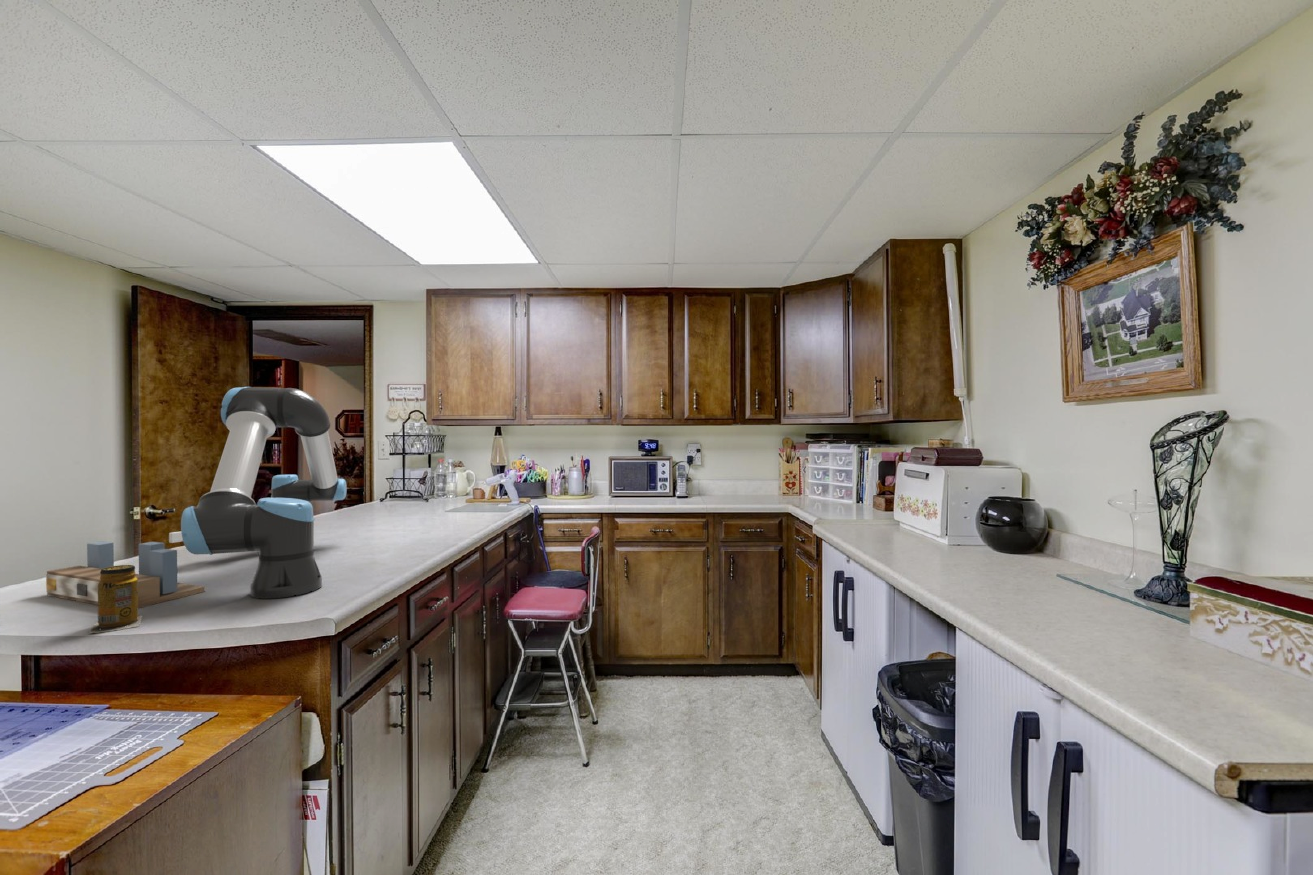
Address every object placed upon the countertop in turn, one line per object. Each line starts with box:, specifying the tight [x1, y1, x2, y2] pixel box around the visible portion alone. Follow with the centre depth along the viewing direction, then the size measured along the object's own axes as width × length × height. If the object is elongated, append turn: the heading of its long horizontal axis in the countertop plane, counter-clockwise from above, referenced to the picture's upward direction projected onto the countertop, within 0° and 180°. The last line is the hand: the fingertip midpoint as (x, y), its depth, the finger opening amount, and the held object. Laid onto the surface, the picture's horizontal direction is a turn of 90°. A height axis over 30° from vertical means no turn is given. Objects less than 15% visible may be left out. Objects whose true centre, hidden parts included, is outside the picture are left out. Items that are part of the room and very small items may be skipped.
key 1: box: [86, 541, 115, 569], centre depth 143 cm, size 5×3×10 cm, turn 70°
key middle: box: [138, 541, 166, 576], centre depth 142 cm, size 5×3×10 cm, turn 70°
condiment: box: [88, 564, 143, 634], centre depth 115 cm, size 7×8×12 cm
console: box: [45, 565, 206, 609], centre depth 137 cm, size 33×16×6 cm, turn 70°
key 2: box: [149, 548, 178, 594], centre depth 134 cm, size 5×3×10 cm, turn 70°
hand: (170, 537), depth 157 cm, fingers closed
